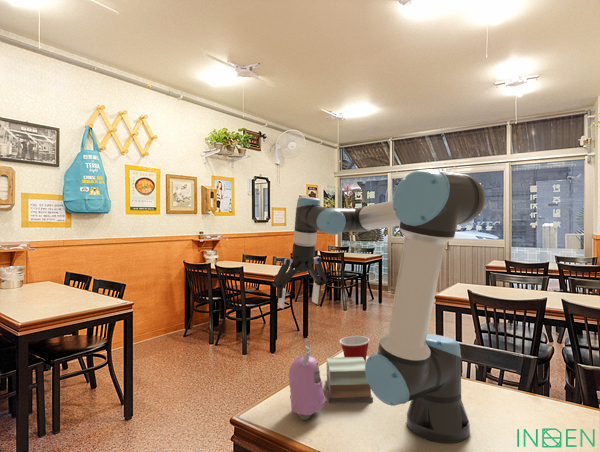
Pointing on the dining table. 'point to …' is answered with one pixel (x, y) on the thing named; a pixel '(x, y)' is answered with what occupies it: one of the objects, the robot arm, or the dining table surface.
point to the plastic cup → (355, 346)
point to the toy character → (305, 385)
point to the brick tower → (347, 380)
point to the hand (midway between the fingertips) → (298, 304)
